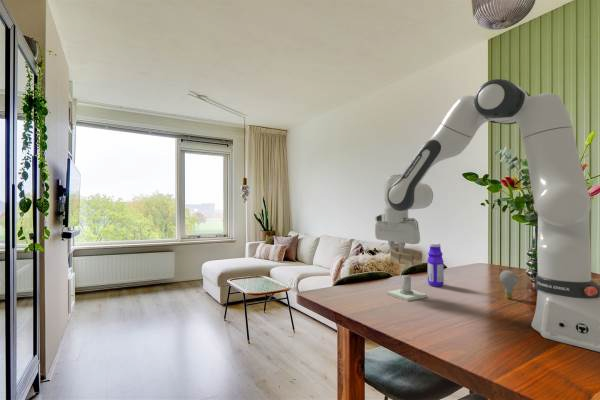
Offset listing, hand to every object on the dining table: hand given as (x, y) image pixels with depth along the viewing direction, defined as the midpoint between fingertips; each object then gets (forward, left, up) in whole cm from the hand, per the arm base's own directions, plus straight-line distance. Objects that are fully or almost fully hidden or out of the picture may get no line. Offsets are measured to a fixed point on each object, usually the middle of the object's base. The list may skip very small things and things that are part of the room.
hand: (396, 253), depth 125 cm
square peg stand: (-5, 0, -15) cm, 16 cm away
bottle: (0, -22, -15) cm, 27 cm away
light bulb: (-26, -28, -15) cm, 41 cm away
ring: (-5, 0, -2) cm, 5 cm away
